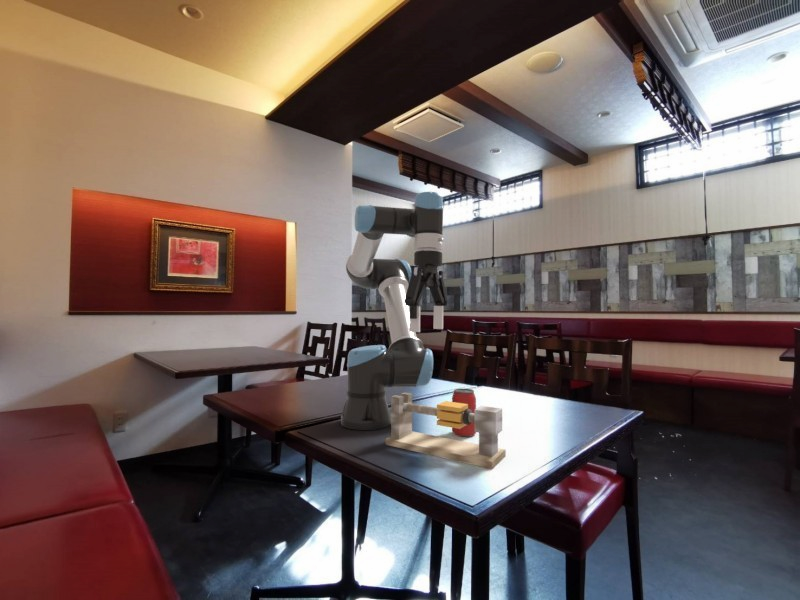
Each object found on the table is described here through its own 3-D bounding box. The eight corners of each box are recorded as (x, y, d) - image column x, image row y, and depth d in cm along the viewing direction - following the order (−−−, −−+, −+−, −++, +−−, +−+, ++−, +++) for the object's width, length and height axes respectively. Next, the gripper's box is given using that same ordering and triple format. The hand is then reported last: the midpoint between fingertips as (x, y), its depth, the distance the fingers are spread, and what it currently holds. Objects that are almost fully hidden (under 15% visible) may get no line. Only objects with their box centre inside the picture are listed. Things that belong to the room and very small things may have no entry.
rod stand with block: (385, 444, 98) (385, 397, 98) (404, 435, 105) (404, 391, 106) (492, 469, 82) (492, 412, 83) (505, 456, 90) (505, 404, 91)
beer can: (447, 431, 109) (447, 389, 109) (467, 429, 111) (467, 387, 112) (460, 438, 103) (460, 393, 103) (480, 435, 105) (480, 391, 106)
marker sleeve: (436, 424, 92) (436, 404, 93) (445, 420, 96) (445, 401, 97) (459, 429, 89) (459, 408, 89) (467, 424, 93) (467, 404, 93)
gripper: (418, 244, 91) (416, 334, 91) (459, 255, 112) (458, 328, 112) (391, 246, 95) (390, 332, 95) (436, 256, 116) (435, 327, 116)
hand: (427, 330), depth 103 cm, fingers open, 13 cm apart
